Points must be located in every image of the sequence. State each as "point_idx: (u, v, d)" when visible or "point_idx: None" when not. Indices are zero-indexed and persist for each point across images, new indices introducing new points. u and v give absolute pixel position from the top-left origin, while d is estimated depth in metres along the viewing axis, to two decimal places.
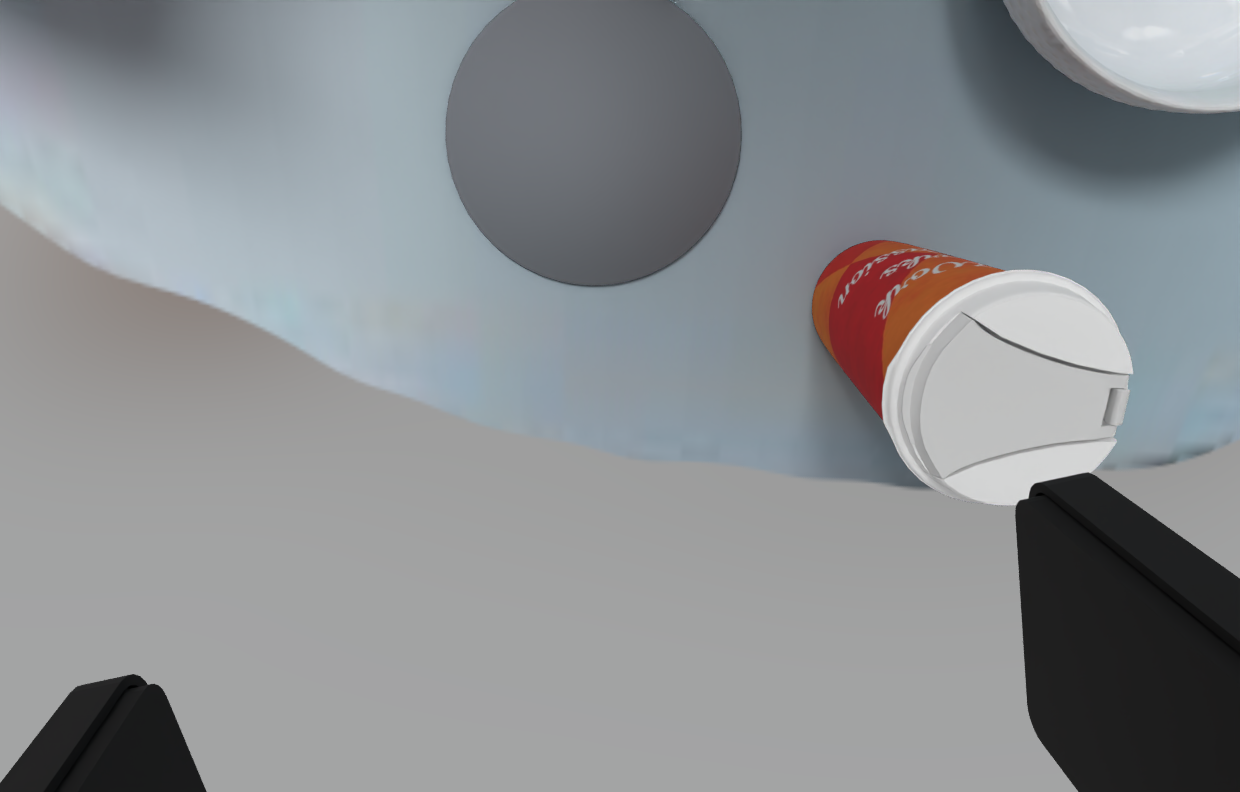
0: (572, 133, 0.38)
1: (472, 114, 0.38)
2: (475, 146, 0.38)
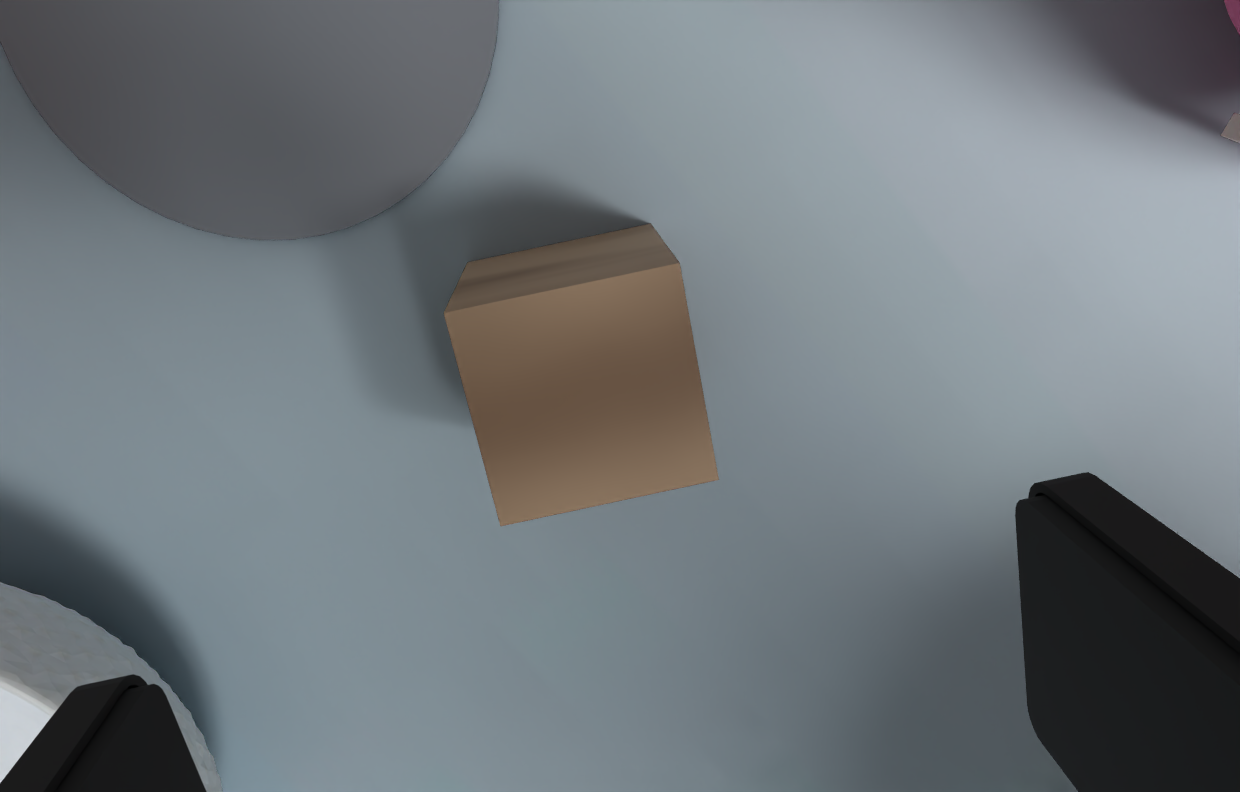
0: None
1: None
2: None
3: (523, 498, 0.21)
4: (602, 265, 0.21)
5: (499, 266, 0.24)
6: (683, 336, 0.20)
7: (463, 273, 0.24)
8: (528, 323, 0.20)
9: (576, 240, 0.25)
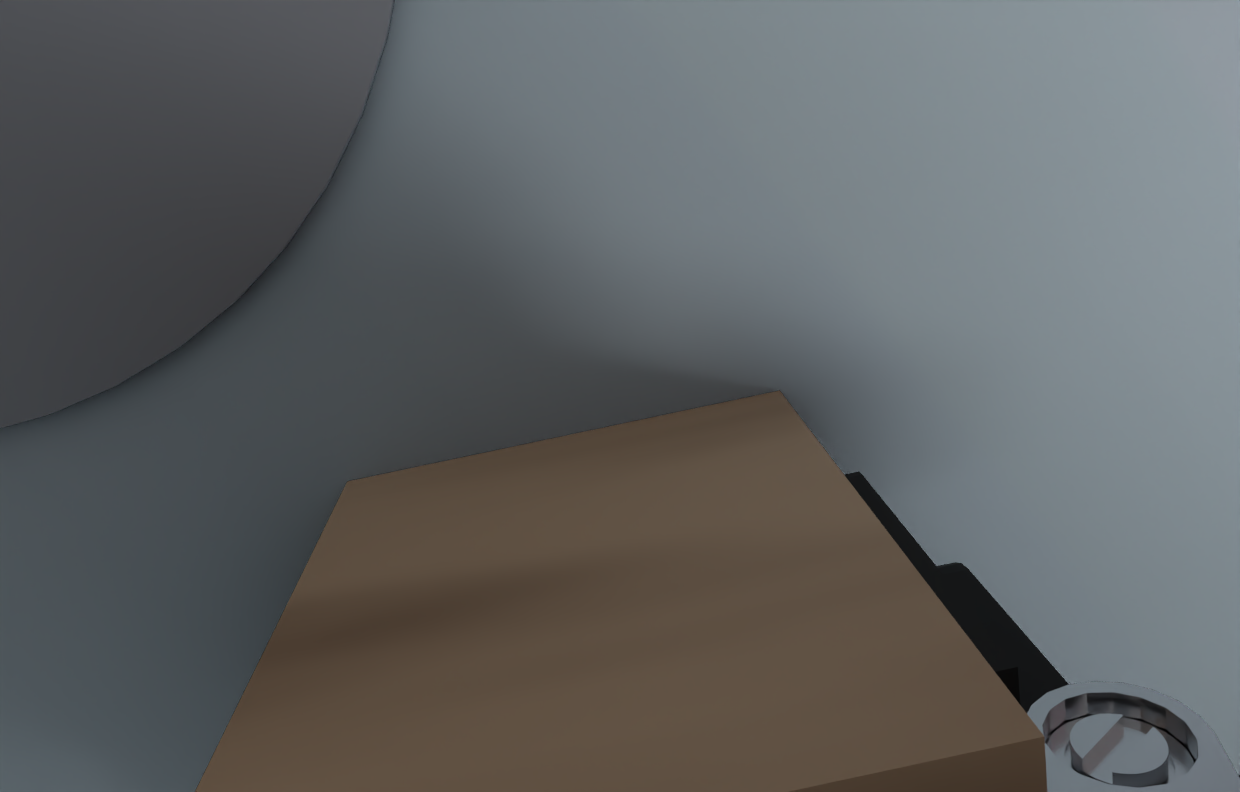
0: None
1: None
2: None
3: None
4: (713, 642, 0.06)
5: (409, 535, 0.09)
6: None
7: (316, 550, 0.09)
8: None
9: (605, 434, 0.11)
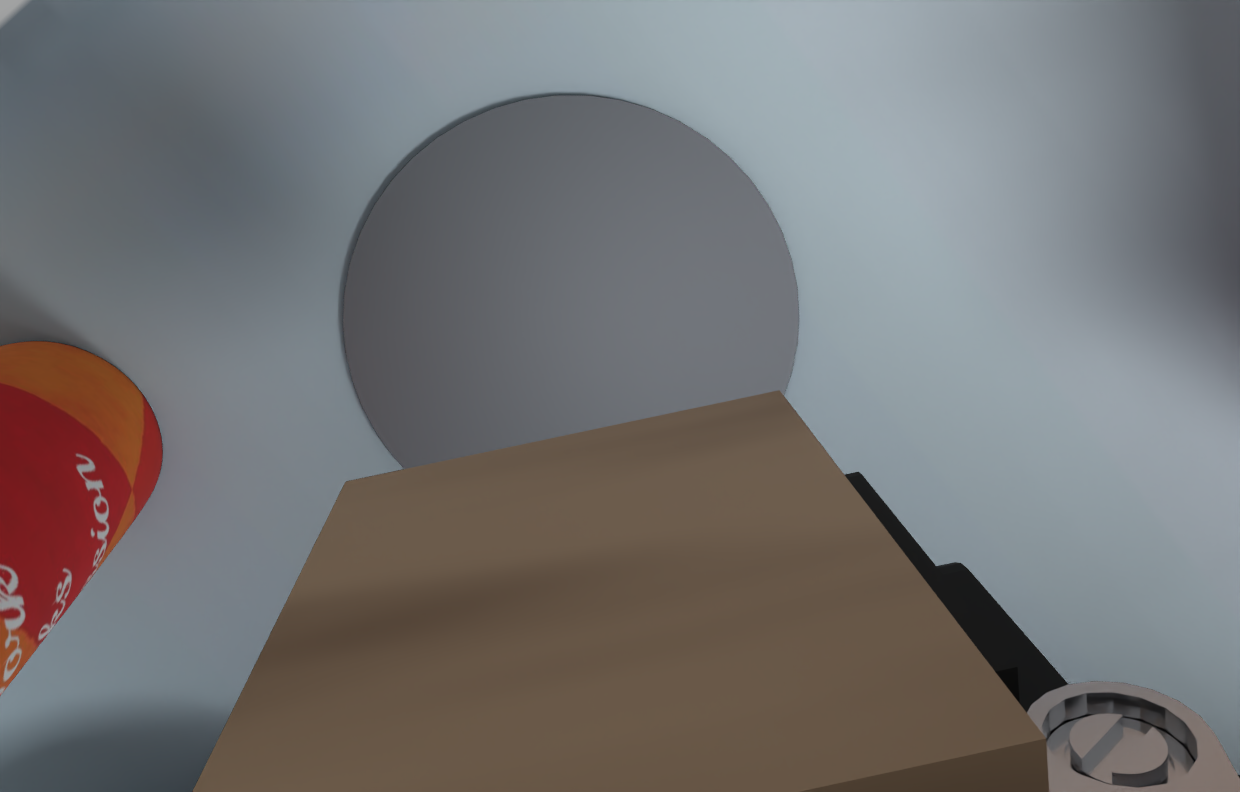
0: (607, 317, 0.25)
1: (740, 238, 0.25)
2: (709, 204, 0.24)
3: None
4: (713, 643, 0.06)
5: (408, 535, 0.09)
6: None
7: (314, 550, 0.09)
8: None
9: (605, 434, 0.10)
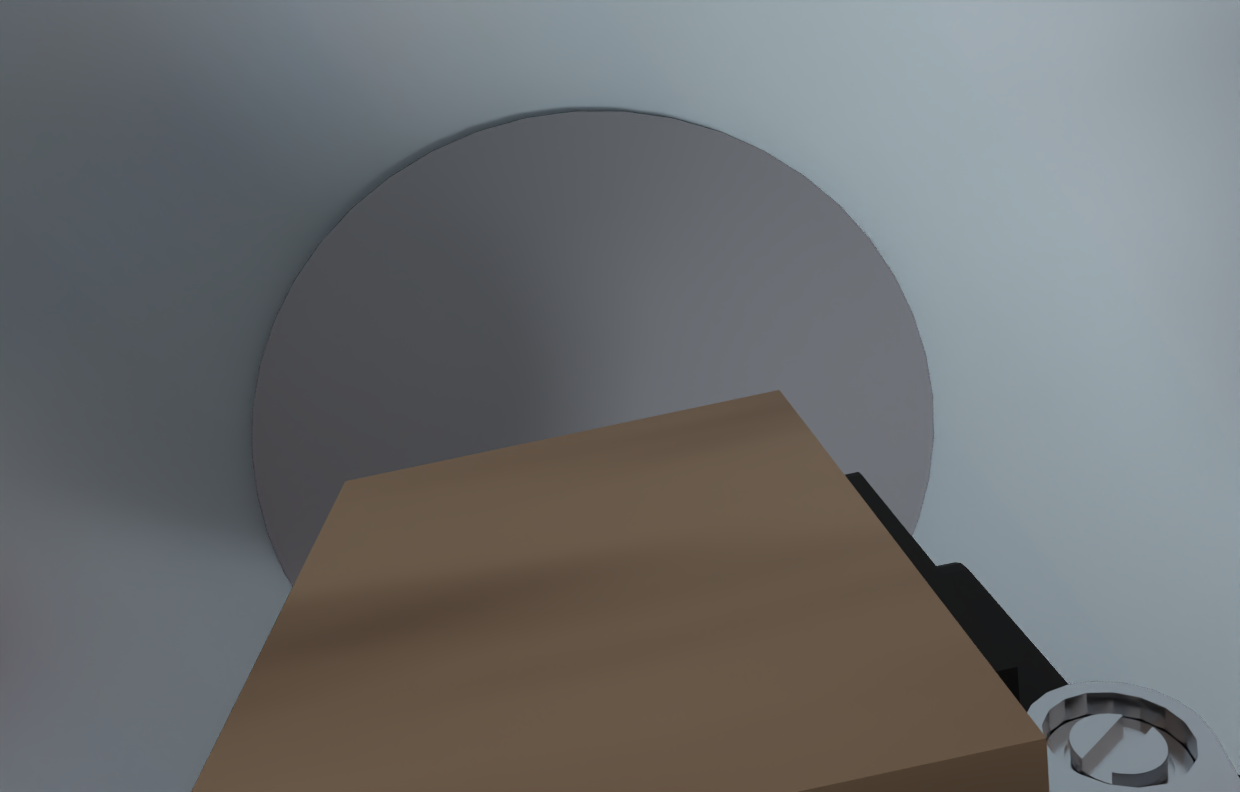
0: None
1: (850, 325, 0.16)
2: (805, 275, 0.16)
3: None
4: (713, 643, 0.06)
5: (407, 535, 0.09)
6: None
7: (314, 550, 0.09)
8: None
9: (604, 434, 0.10)
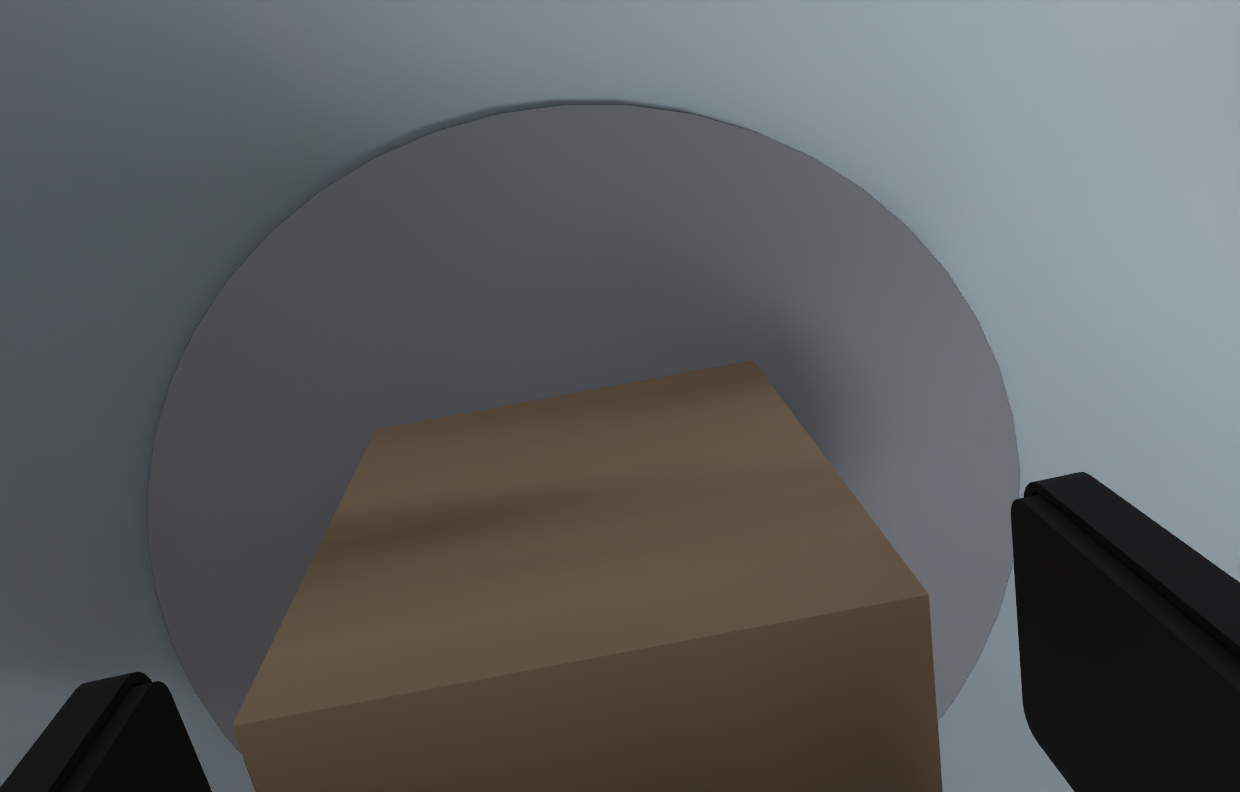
0: None
1: (918, 380, 0.13)
2: (862, 317, 0.12)
3: None
4: (685, 539, 0.08)
5: (433, 468, 0.11)
6: (918, 775, 0.07)
7: (354, 479, 0.11)
8: (482, 749, 0.07)
9: (601, 393, 0.12)
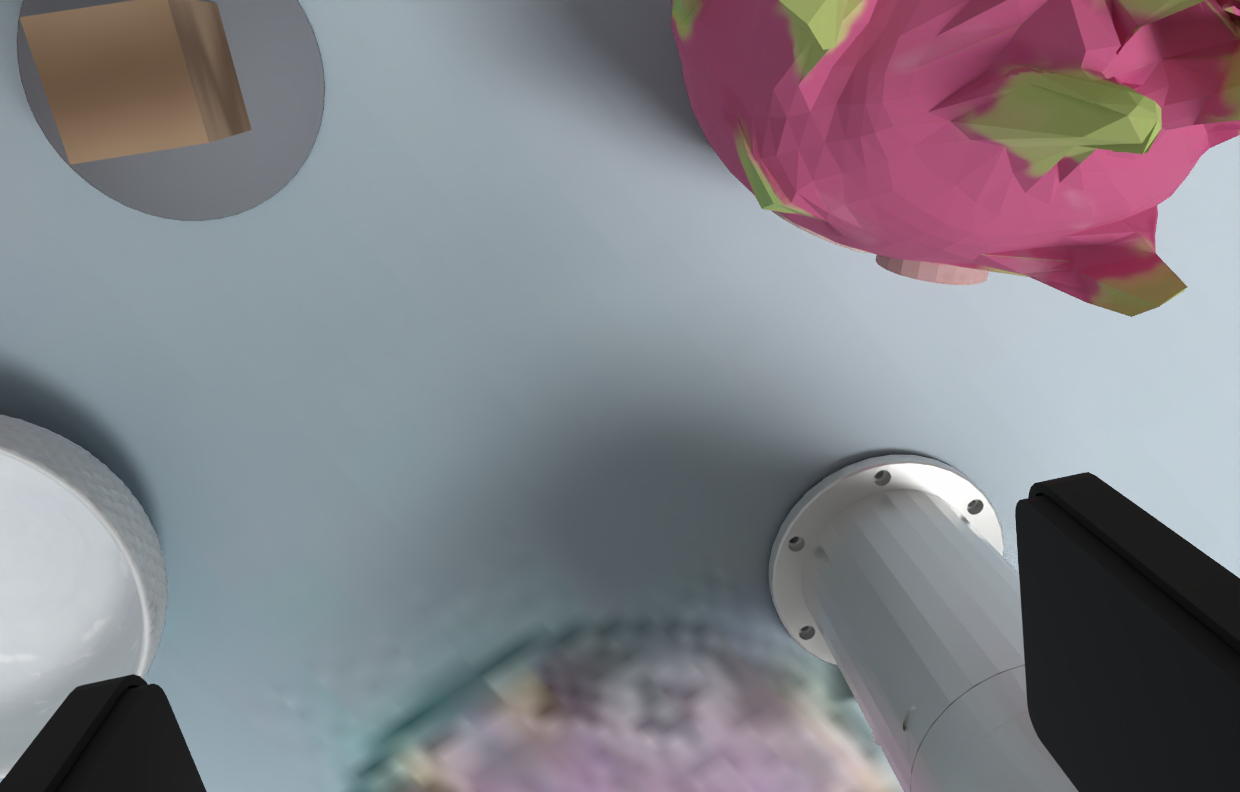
0: None
1: (275, 13, 0.39)
2: None
3: (83, 146, 0.34)
4: None
5: None
6: (174, 44, 0.33)
7: None
8: (74, 27, 0.33)
9: None
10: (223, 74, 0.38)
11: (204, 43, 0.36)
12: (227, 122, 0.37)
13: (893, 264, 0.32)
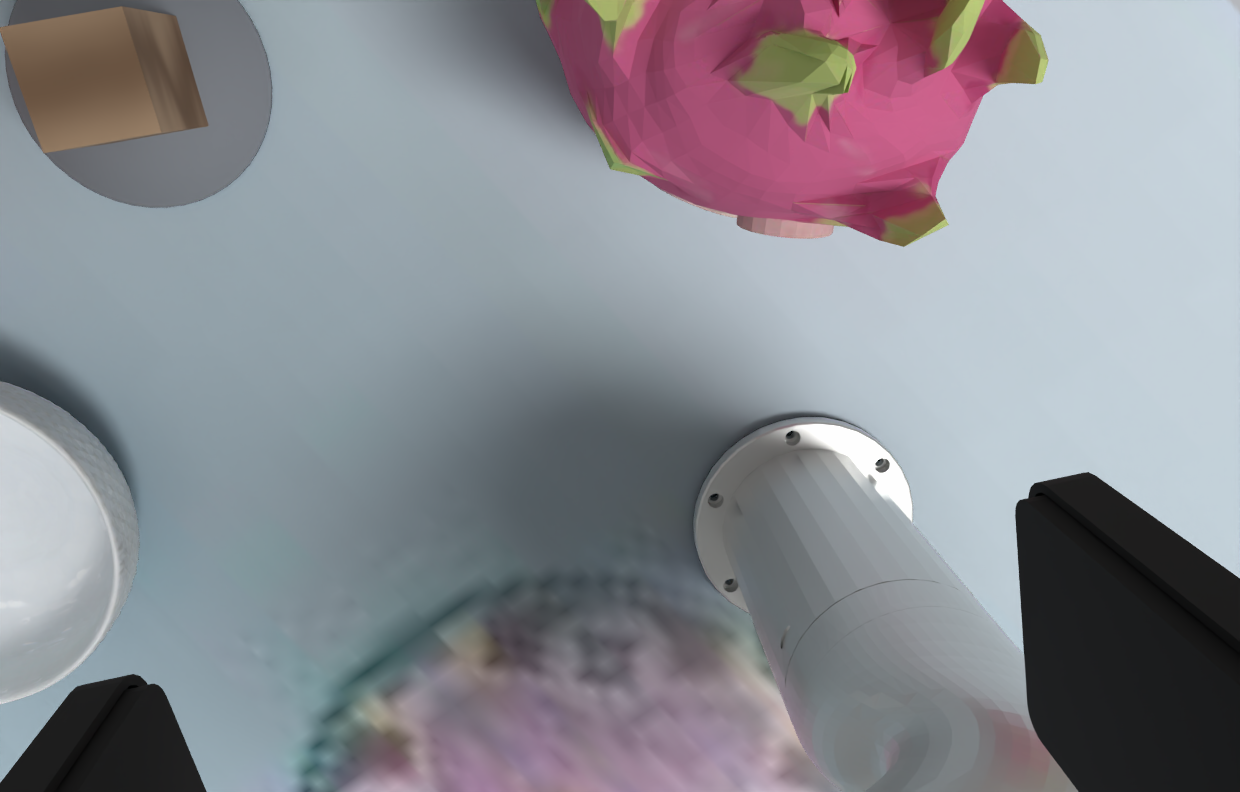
0: None
1: (227, 23, 0.44)
2: (206, 3, 0.44)
3: (54, 137, 0.40)
4: None
5: None
6: (130, 47, 0.39)
7: None
8: (44, 35, 0.38)
9: None
10: (179, 76, 0.43)
11: (160, 48, 0.41)
12: (182, 117, 0.42)
13: (746, 222, 0.37)
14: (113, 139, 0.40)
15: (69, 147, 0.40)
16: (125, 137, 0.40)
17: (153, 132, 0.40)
